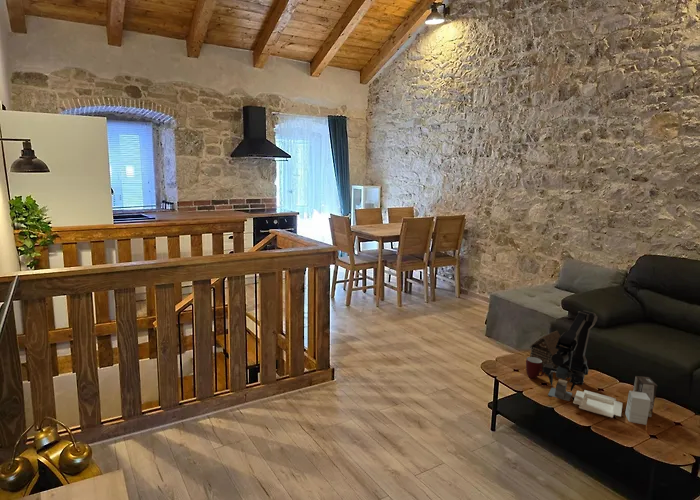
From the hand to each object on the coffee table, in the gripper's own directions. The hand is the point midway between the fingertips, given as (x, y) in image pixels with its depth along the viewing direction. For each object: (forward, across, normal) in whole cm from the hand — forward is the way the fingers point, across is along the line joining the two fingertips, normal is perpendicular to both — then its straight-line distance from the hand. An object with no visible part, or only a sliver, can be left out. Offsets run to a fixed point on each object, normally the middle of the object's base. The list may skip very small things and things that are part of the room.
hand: (561, 388), depth 236 cm
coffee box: (+4, +35, +7) cm, 36 cm away
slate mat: (+4, 0, 0) cm, 4 cm away
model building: (+4, -13, +33) cm, 36 cm away
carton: (+4, +17, -2) cm, 17 cm away
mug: (+4, -15, +12) cm, 20 cm away
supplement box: (+4, +33, -4) cm, 33 cm away
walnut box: (+3, 0, 0) cm, 3 cm away
